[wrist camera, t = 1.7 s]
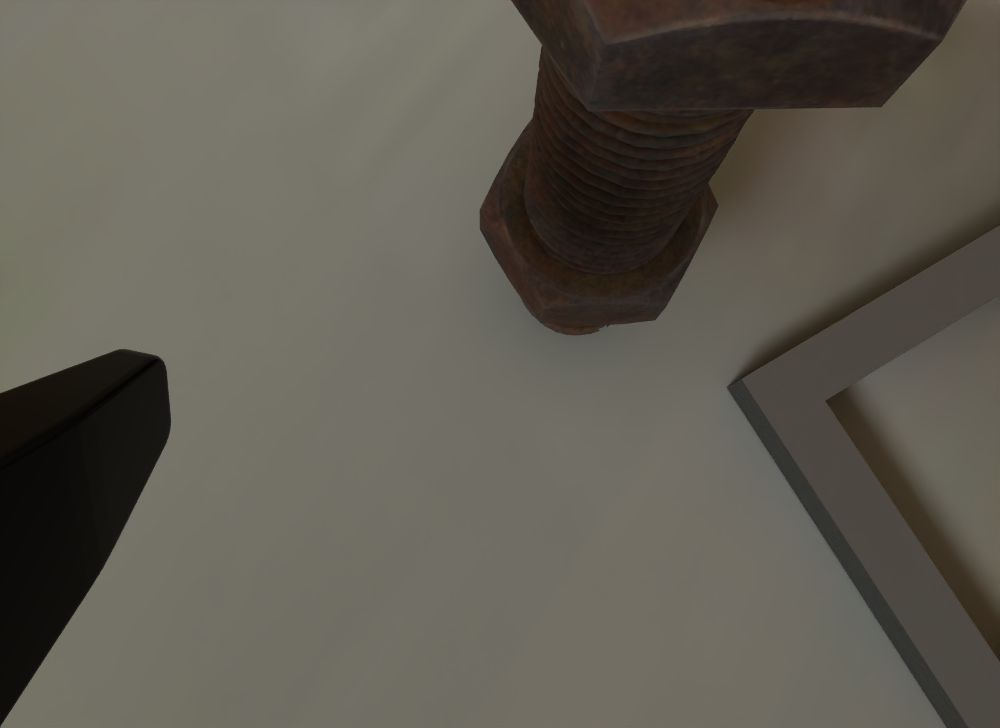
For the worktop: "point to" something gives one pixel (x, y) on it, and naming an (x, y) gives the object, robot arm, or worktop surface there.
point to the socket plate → (858, 493)
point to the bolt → (667, 131)
